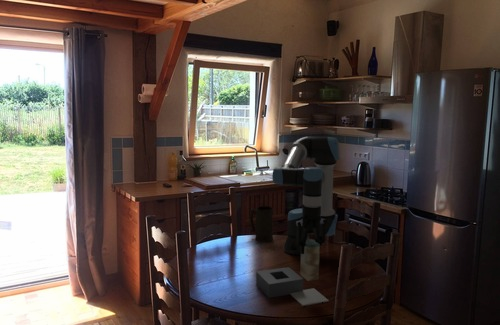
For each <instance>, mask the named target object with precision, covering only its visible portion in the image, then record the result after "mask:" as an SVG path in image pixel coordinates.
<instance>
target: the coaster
mask: <svg viewBox="0 0 500 325" xmlns="http://www.w3.org/2000/svg"><path fill="white" fill-rule="evenodd" d="M290 296H291V297H292V298H293V299H295V300H296V301H297V303H299V304H300V305H301V306H302V307H304V306H311V305H317V304H321V303H322V302H323V303H327V302H328V303H329V299H328V298H326V296H324V295H323V294H321V293H320V291H318V290H317V289H315V288H314V287H313V288H308V289H303V291H301V292H295V293H290ZM323 303H322V304H323Z"/></svg>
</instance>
